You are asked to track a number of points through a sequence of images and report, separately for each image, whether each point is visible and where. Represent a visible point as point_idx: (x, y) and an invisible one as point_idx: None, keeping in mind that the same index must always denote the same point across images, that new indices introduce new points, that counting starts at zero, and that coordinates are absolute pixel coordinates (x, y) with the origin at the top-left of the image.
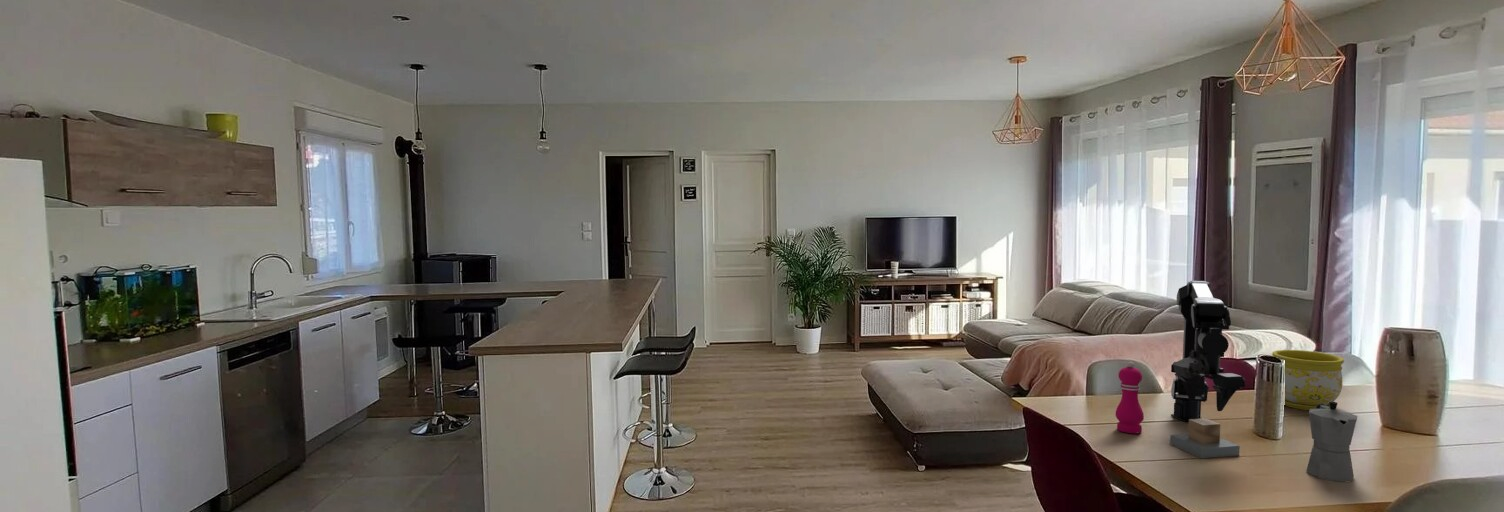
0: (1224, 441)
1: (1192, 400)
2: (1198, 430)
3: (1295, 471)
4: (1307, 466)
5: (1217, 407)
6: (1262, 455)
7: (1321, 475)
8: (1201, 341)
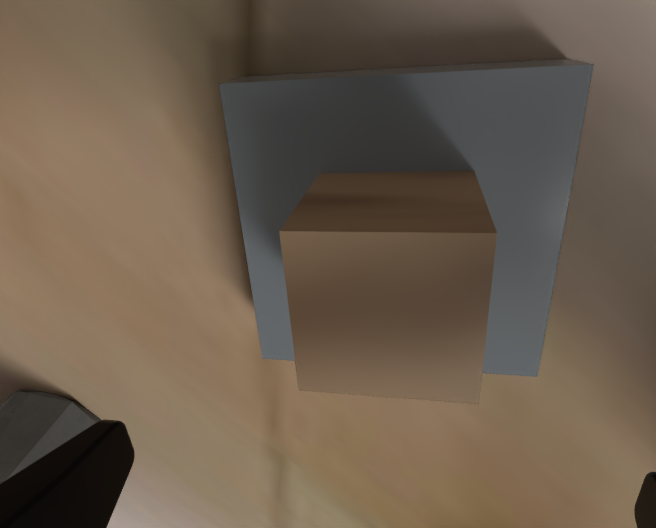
0: None
1: (647, 506)
2: (356, 204)
3: (82, 374)
4: (56, 419)
5: (73, 451)
6: (268, 412)
7: (7, 401)
8: None
